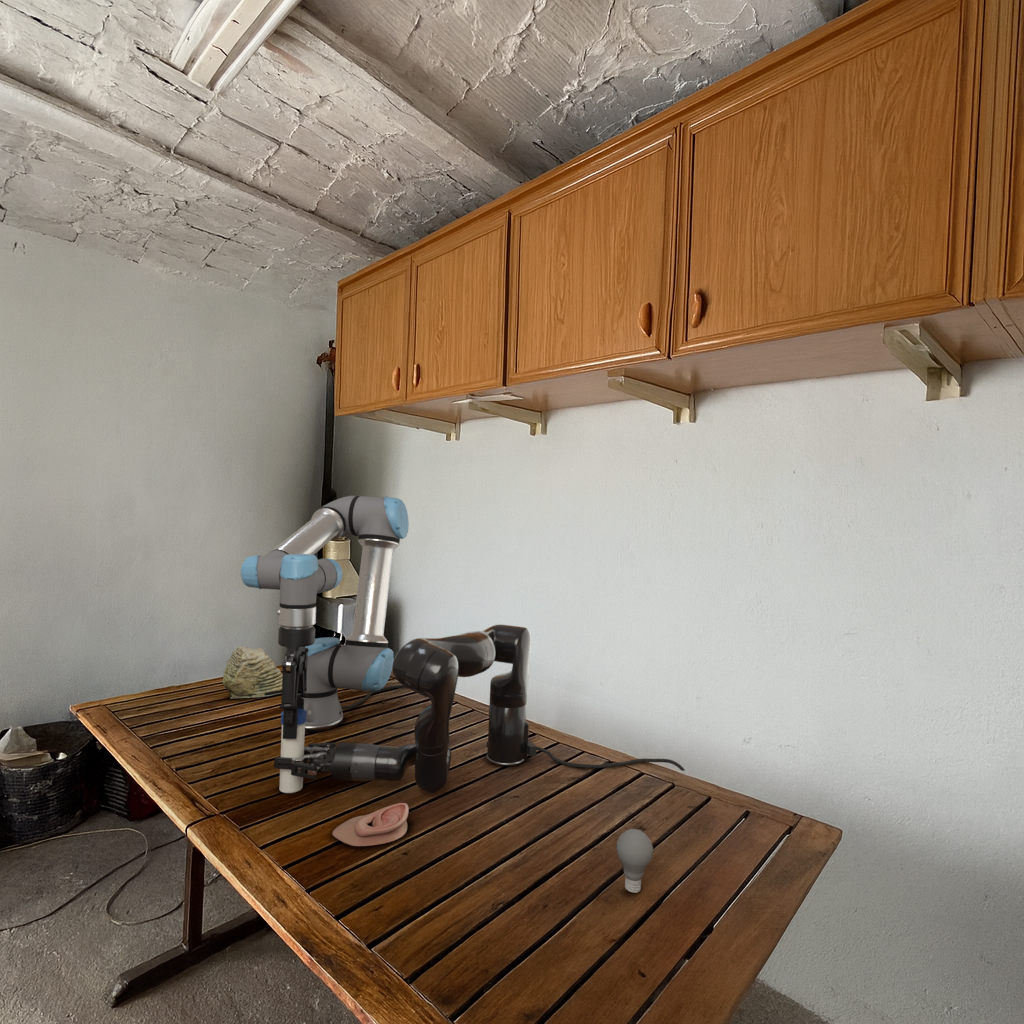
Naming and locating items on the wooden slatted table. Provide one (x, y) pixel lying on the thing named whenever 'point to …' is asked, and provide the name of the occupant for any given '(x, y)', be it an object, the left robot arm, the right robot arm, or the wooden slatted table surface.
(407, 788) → the wooden slatted table surface
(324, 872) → the wooden slatted table surface
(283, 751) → the white bottle
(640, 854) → the light bulb
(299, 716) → the lid
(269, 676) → the fossil
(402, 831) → the anatomical model
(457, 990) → the wooden slatted table surface
